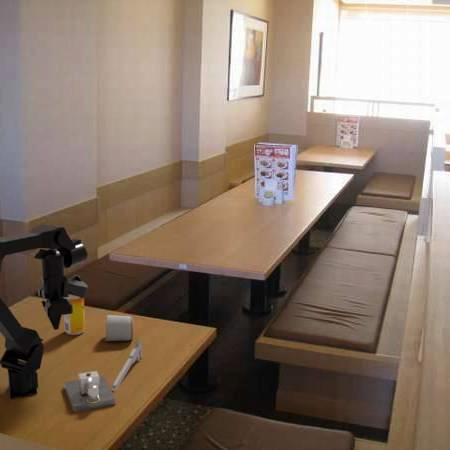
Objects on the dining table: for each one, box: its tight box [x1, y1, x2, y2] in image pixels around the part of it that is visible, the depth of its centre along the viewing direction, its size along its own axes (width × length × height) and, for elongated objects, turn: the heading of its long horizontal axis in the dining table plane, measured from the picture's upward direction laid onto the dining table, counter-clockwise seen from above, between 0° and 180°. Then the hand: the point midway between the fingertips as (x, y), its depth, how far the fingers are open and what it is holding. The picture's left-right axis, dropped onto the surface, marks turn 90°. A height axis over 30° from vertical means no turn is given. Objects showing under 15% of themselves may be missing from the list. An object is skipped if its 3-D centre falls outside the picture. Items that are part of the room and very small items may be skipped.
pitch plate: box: [63, 375, 116, 413], centre depth 158 cm, size 10×13×5 cm
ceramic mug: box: [105, 314, 134, 342], centre depth 193 cm, size 11×8×8 cm
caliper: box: [110, 339, 143, 392], centre depth 170 cm, size 20×1×6 cm, turn 168°
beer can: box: [62, 295, 86, 336], centre depth 196 cm, size 6×6×15 cm
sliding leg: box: [78, 370, 100, 394], centre depth 157 cm, size 4×3×4 cm
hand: (56, 329), depth 169 cm, fingers closed
